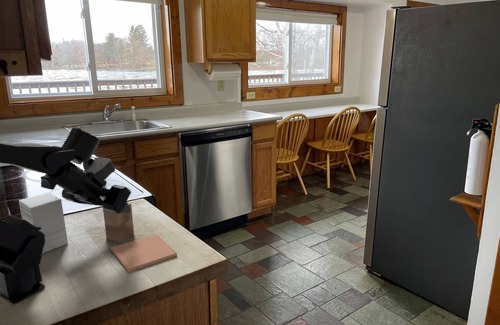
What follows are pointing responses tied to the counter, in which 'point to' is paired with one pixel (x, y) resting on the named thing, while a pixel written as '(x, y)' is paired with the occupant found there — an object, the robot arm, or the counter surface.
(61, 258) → the counter surface
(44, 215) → the supplement box
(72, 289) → the counter surface
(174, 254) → the terracotta mat
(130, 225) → the walnut block
